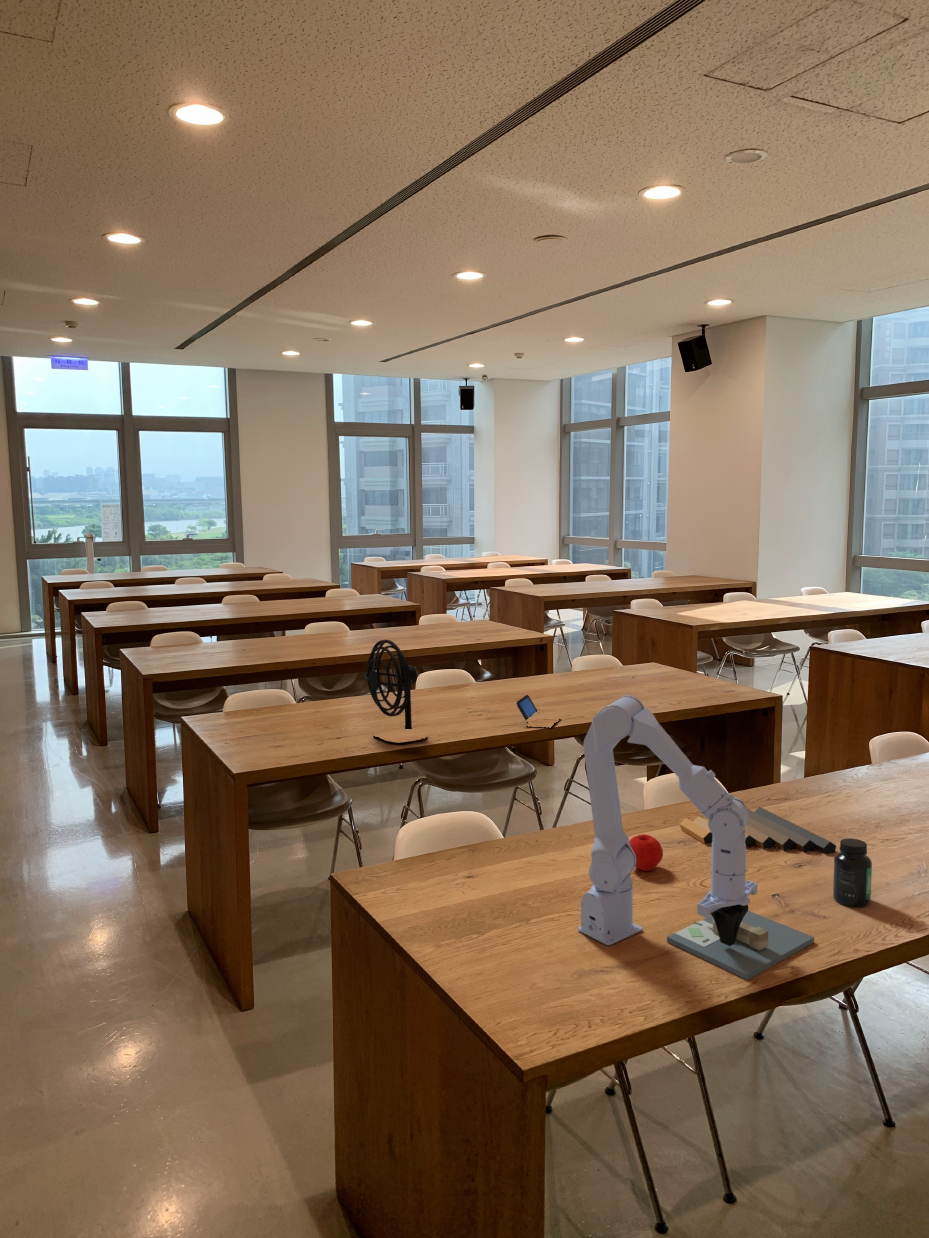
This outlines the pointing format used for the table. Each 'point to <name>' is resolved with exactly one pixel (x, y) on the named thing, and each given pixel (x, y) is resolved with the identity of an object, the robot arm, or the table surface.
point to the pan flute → (765, 833)
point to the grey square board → (741, 945)
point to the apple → (646, 852)
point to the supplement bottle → (852, 874)
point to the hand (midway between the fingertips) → (727, 942)
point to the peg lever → (750, 935)
